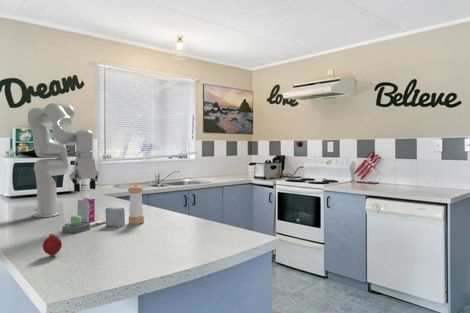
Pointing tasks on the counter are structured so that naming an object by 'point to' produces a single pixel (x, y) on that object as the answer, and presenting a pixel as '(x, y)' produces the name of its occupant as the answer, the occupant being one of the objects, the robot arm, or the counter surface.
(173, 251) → the counter surface
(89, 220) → the supplement box
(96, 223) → the wooden picture frame
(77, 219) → the button
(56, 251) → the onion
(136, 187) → the pepper shaker
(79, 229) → the button box
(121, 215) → the medicine box
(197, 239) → the counter surface
